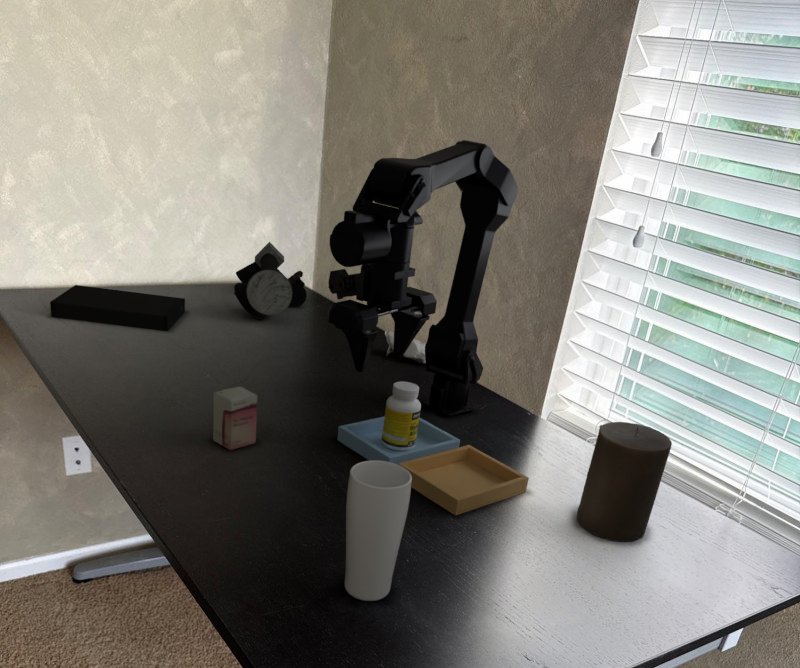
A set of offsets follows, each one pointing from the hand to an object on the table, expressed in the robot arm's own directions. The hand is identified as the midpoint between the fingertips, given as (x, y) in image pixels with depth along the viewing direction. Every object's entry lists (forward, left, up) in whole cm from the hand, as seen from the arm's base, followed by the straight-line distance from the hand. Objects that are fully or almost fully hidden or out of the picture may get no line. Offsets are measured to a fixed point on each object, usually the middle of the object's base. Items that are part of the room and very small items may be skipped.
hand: (378, 365), depth 122 cm
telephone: (-25, -68, -13) cm, 74 cm away
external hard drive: (+8, -73, -13) cm, 75 cm away
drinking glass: (+26, +32, -13) cm, 43 cm away
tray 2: (-3, +18, -13) cm, 22 cm away
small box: (+19, -9, -13) cm, 25 cm away
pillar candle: (-14, +37, -13) cm, 41 cm away
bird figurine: (-33, -28, -13) cm, 46 cm away
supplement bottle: (-3, +3, -13) cm, 13 cm away
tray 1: (-3, +3, -13) cm, 14 cm away
